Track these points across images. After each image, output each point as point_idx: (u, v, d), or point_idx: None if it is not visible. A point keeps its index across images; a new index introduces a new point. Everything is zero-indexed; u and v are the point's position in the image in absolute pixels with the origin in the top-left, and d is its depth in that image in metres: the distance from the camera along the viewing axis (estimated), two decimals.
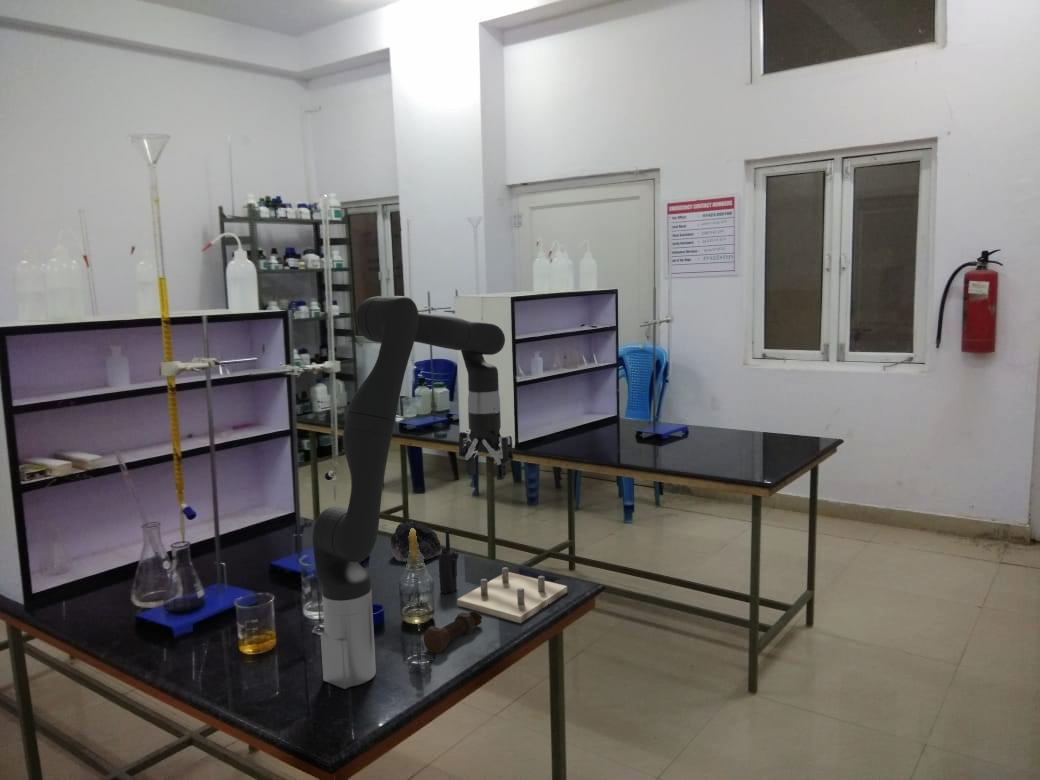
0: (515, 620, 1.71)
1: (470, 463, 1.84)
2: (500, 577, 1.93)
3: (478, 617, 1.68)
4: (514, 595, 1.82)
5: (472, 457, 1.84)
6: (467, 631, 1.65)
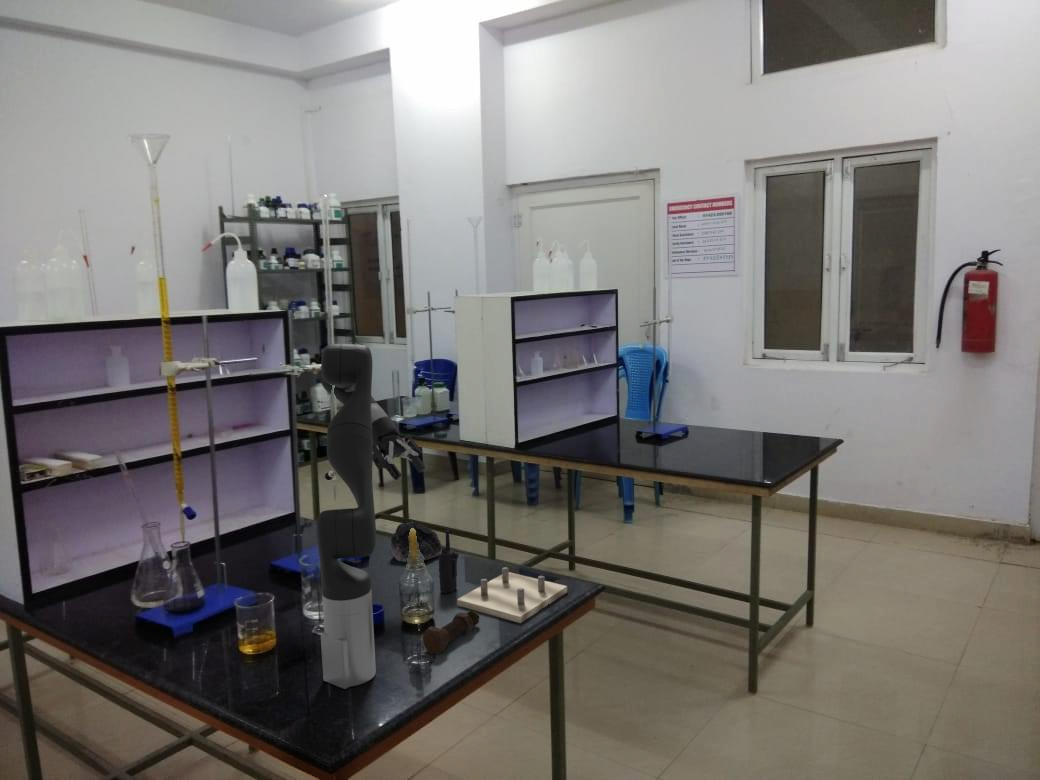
0: (515, 620, 1.71)
1: None
2: (500, 577, 1.93)
3: (476, 617, 1.69)
4: (514, 595, 1.82)
5: None
6: (465, 631, 1.65)
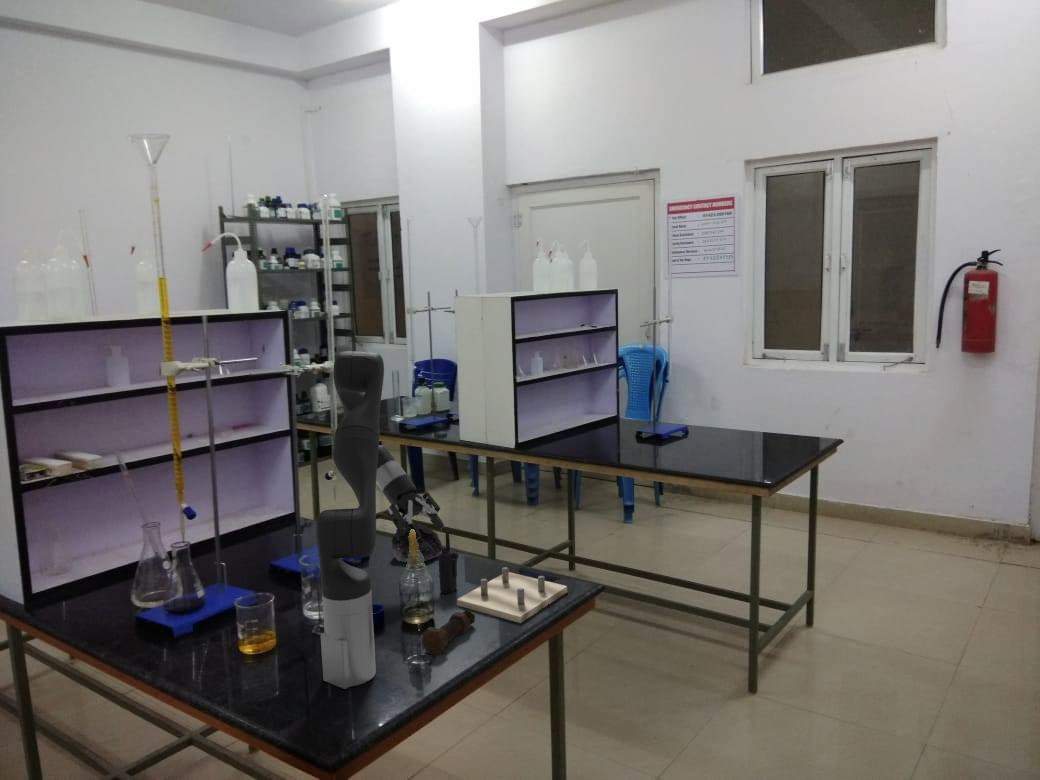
0: (515, 620, 1.71)
1: None
2: (500, 577, 1.93)
3: (472, 616, 1.69)
4: (514, 595, 1.82)
5: None
6: (463, 630, 1.65)
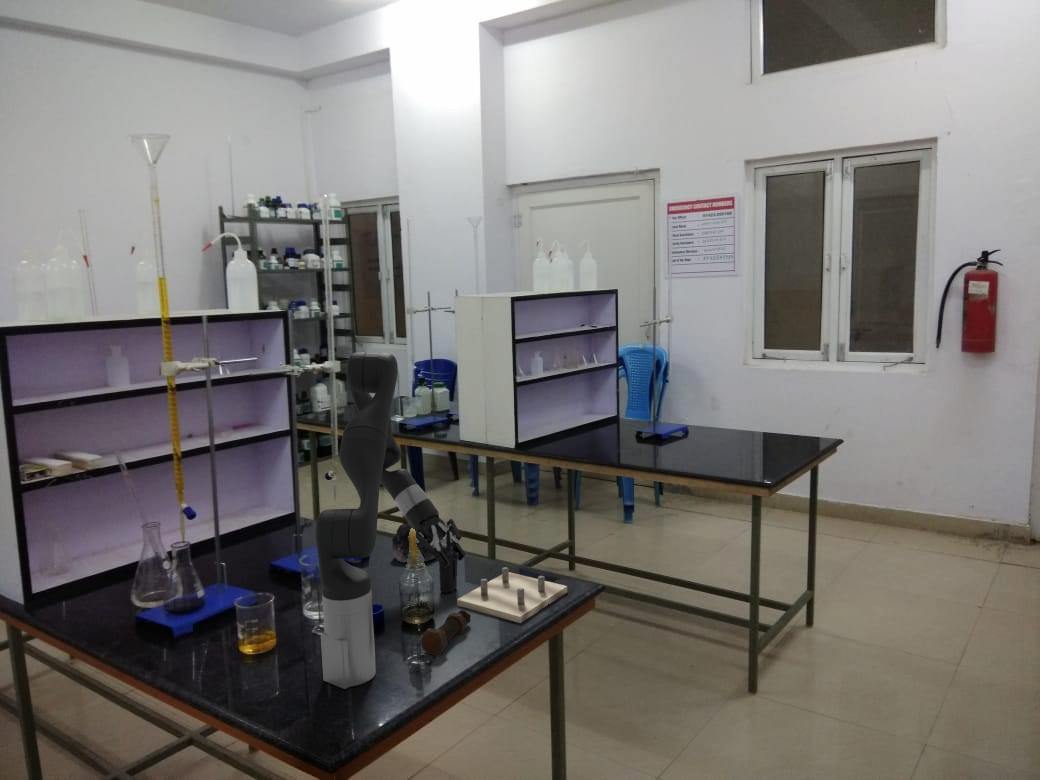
0: (515, 620, 1.71)
1: None
2: (500, 577, 1.93)
3: (467, 616, 1.69)
4: (514, 595, 1.82)
5: None
6: (460, 630, 1.65)
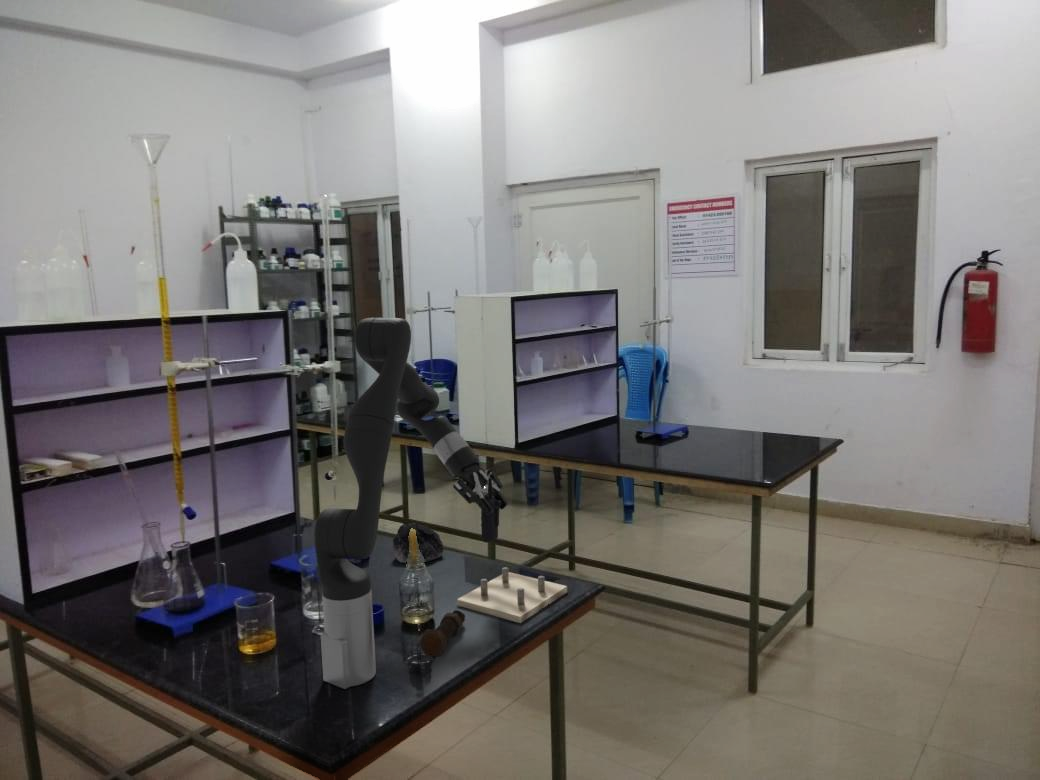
0: (515, 620, 1.71)
1: None
2: (500, 577, 1.93)
3: (462, 616, 1.69)
4: (514, 595, 1.82)
5: None
6: (456, 630, 1.66)
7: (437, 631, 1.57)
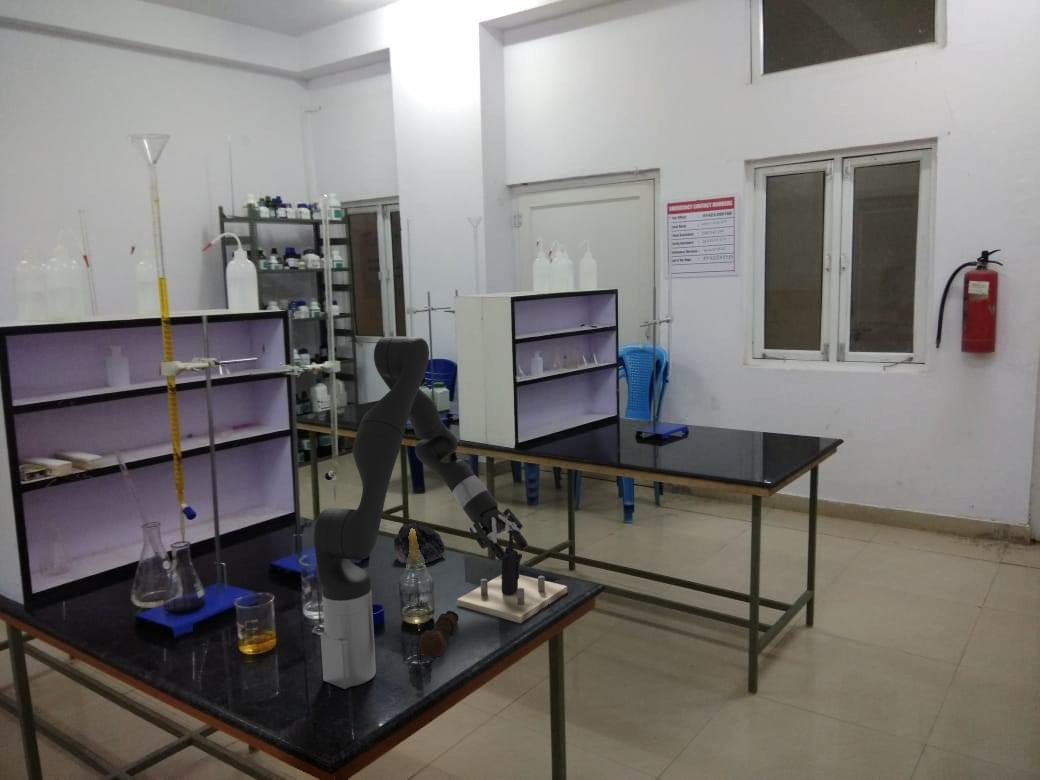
0: (515, 620, 1.71)
1: None
2: (500, 577, 1.93)
3: (456, 616, 1.69)
4: (514, 595, 1.82)
5: None
6: (451, 631, 1.65)
7: (437, 632, 1.57)
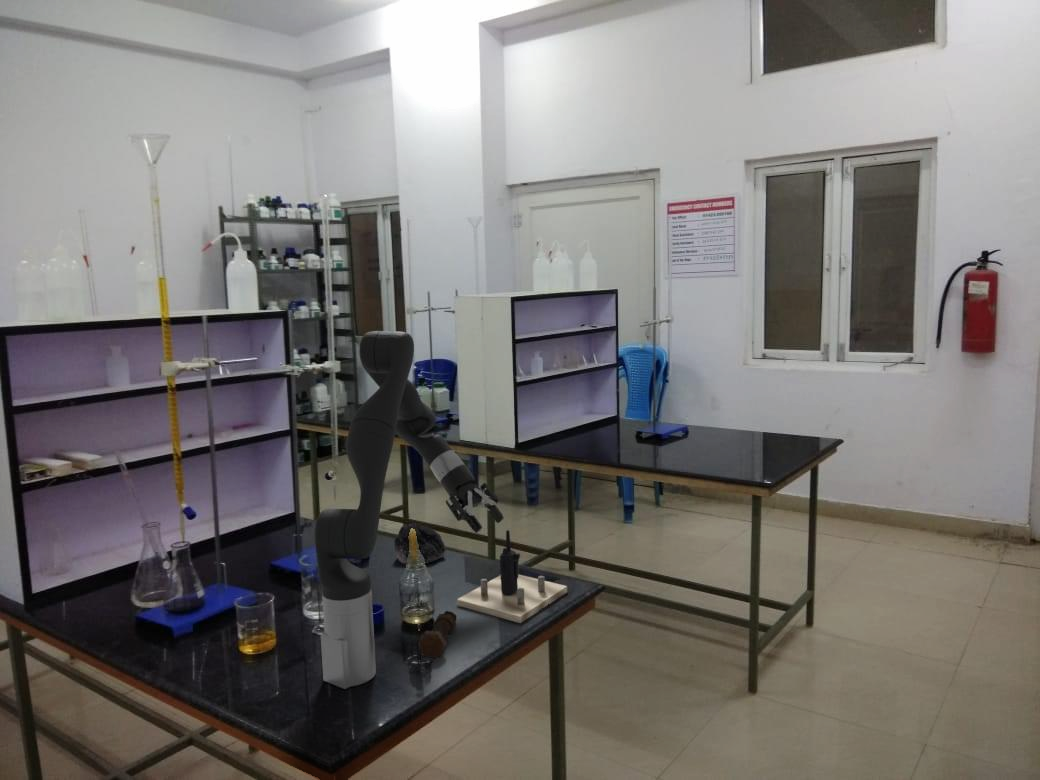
0: (515, 620, 1.71)
1: None
2: None
3: (454, 616, 1.69)
4: (514, 595, 1.82)
5: None
6: (450, 631, 1.65)
7: (436, 632, 1.57)
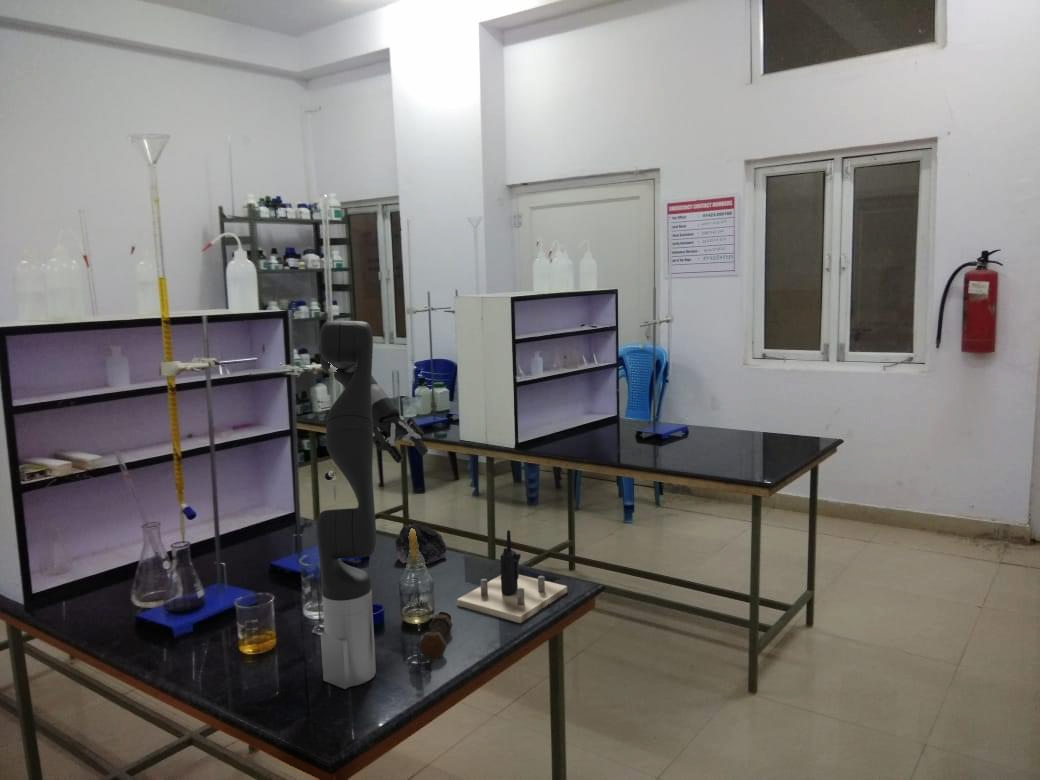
0: (515, 620, 1.71)
1: None
2: (500, 577, 1.93)
3: (449, 616, 1.69)
4: (514, 595, 1.82)
5: None
6: (447, 632, 1.65)
7: (437, 633, 1.56)
